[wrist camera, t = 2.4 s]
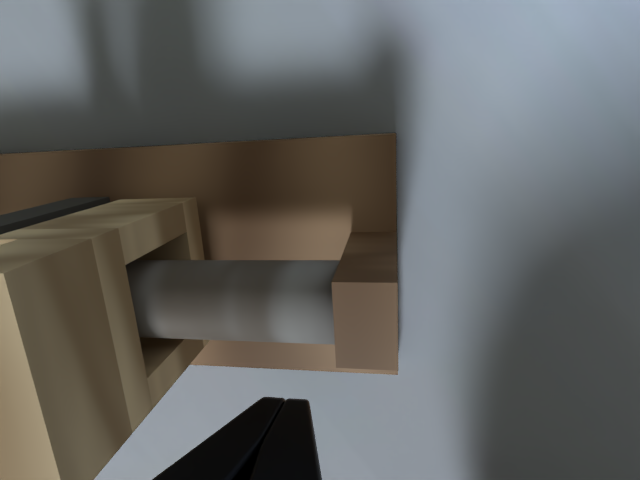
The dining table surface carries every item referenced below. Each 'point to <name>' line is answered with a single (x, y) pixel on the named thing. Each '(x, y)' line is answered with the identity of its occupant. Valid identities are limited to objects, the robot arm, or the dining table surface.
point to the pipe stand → (254, 244)
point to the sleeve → (84, 335)
